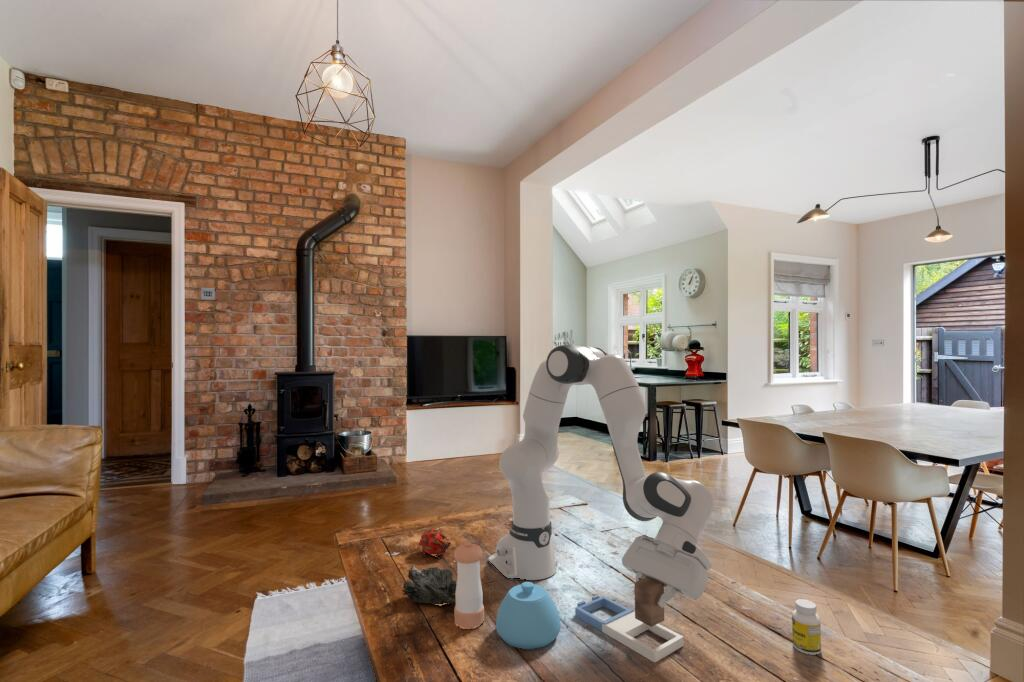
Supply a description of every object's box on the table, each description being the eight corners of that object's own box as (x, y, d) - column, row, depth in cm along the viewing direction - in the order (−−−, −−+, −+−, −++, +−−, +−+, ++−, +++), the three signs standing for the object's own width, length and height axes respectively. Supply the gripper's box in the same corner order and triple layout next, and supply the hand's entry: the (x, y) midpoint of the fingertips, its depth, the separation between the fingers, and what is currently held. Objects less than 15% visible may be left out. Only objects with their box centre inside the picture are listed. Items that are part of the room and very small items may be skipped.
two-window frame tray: (573, 614, 128) (573, 604, 128) (601, 602, 134) (601, 592, 134) (654, 662, 108) (654, 651, 108) (683, 645, 114) (683, 634, 114)
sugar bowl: (511, 660, 110) (510, 605, 110) (486, 625, 124) (486, 577, 124) (572, 643, 116) (571, 591, 116) (542, 612, 130) (541, 565, 130)
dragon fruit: (424, 552, 172) (446, 568, 164) (407, 544, 167) (430, 559, 159) (437, 529, 175) (460, 543, 167) (422, 520, 170) (445, 534, 162)
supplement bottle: (787, 642, 115) (786, 598, 115) (810, 640, 115) (809, 596, 116) (803, 656, 110) (801, 610, 110) (827, 655, 110) (826, 608, 110)
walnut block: (635, 618, 116) (634, 582, 116) (648, 612, 119) (647, 576, 119) (651, 627, 112) (650, 590, 112) (664, 620, 115) (663, 584, 115)
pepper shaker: (456, 613, 130) (455, 537, 130) (485, 613, 129) (484, 536, 130) (452, 629, 122) (451, 548, 122) (483, 629, 122) (481, 548, 122)
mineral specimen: (397, 594, 129) (413, 552, 135) (398, 598, 140) (412, 559, 146) (455, 614, 129) (468, 571, 135) (452, 616, 140) (464, 577, 146)
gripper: (632, 526, 128) (605, 576, 122) (706, 551, 112) (680, 611, 106) (644, 539, 131) (618, 589, 125) (719, 567, 114) (693, 626, 108)
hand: (647, 600), depth 115 cm, fingers closed on walnut block, 4 cm apart
